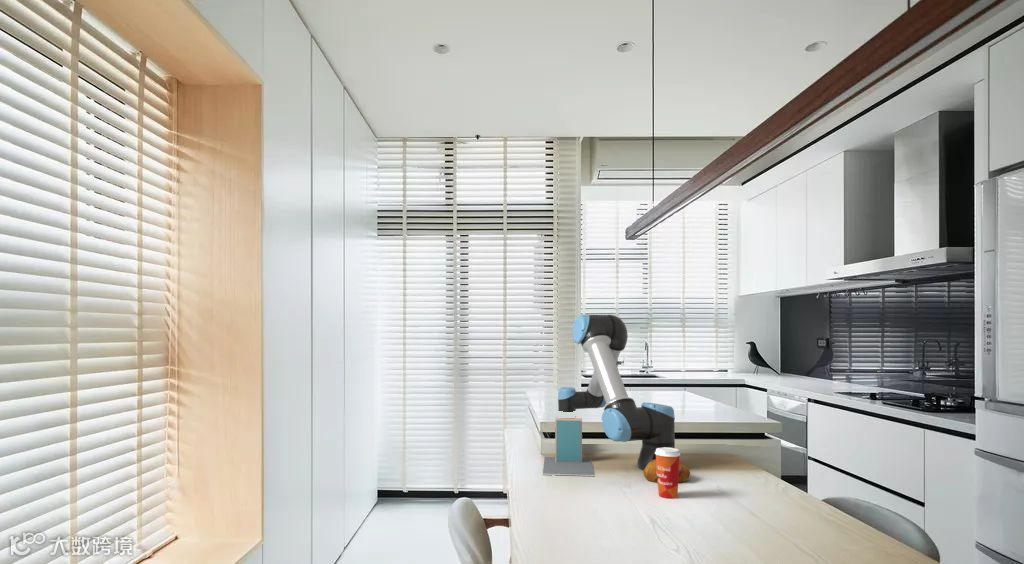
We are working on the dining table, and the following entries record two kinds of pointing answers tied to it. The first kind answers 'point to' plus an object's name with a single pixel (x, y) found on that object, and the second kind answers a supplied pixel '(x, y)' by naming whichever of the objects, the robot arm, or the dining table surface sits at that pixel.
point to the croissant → (651, 472)
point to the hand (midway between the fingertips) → (567, 438)
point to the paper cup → (667, 471)
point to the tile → (568, 440)
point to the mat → (568, 467)
